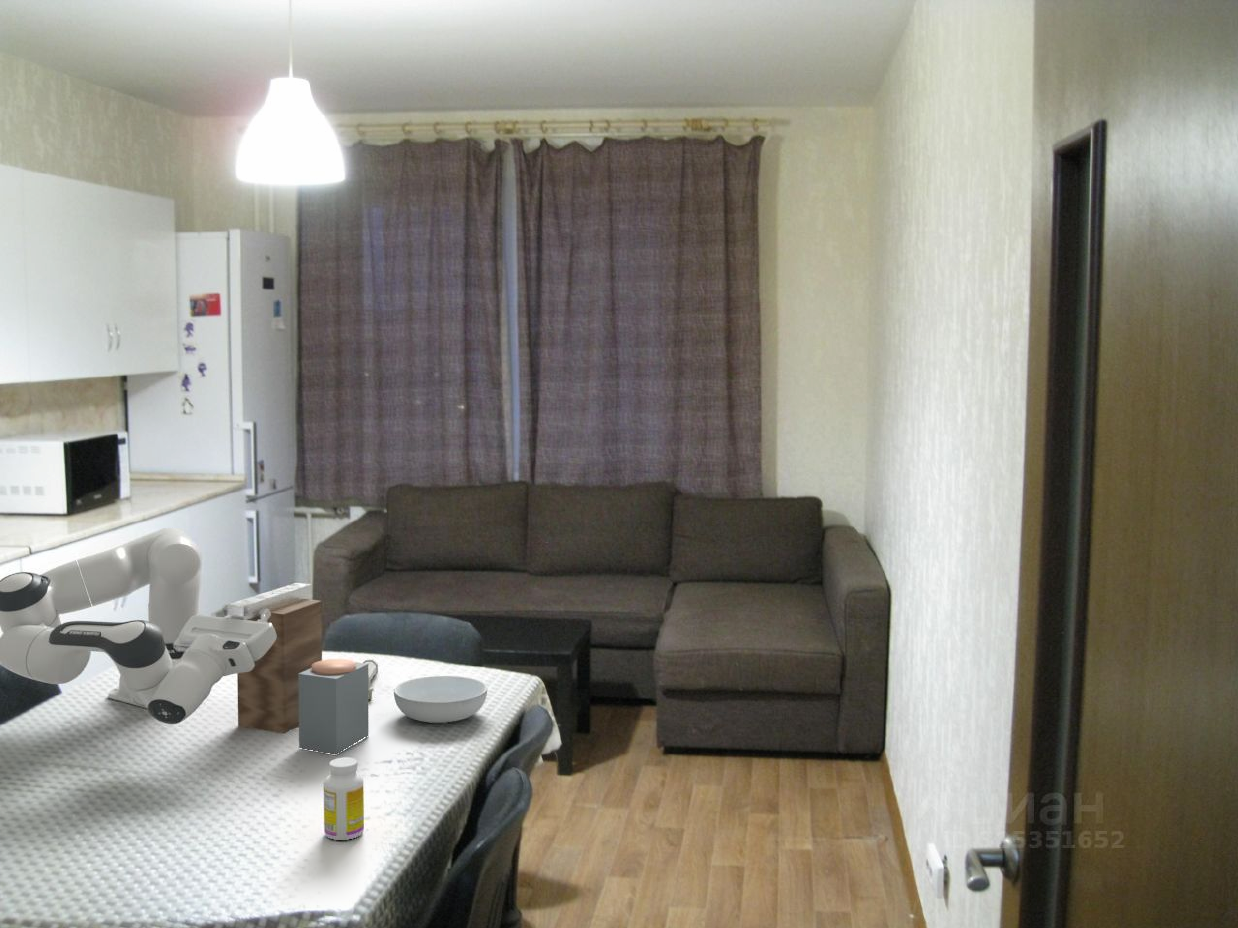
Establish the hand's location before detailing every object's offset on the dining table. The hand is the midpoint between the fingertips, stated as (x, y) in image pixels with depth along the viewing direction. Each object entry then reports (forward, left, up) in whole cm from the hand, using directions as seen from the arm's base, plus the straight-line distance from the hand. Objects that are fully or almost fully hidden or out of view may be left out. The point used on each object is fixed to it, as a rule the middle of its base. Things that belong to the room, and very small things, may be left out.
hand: (248, 608), depth 250 cm
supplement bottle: (+46, -35, -28) cm, 64 cm away
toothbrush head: (+4, +40, -28) cm, 49 cm away
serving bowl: (+31, +27, -28) cm, 49 cm away
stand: (0, +11, -27) cm, 30 cm away
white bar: (0, +8, -1) cm, 8 cm away
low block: (+19, +3, -27) cm, 33 cm away
